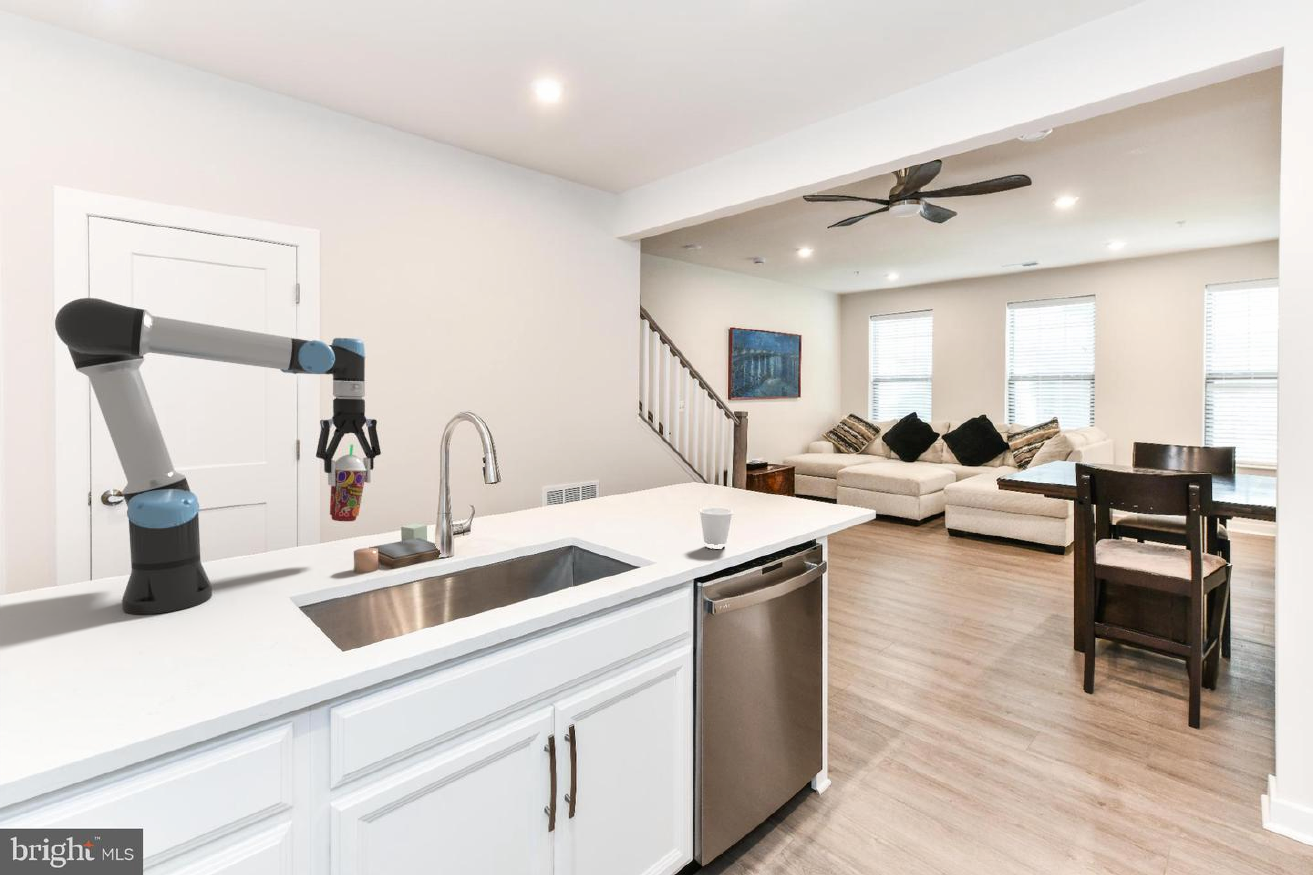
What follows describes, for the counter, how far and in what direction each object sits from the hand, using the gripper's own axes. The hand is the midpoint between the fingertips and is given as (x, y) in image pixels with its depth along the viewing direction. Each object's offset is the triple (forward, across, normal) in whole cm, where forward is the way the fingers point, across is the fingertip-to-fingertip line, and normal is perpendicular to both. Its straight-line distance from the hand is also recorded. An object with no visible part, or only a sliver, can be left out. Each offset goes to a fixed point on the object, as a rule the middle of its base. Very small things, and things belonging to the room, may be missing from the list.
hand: (349, 483), depth 167 cm
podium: (+20, +12, -8) cm, 25 cm away
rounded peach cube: (+21, -1, -12) cm, 24 cm away
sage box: (+20, +21, +5) cm, 29 cm away
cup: (+19, +79, -63) cm, 103 cm away
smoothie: (+10, -2, 0) cm, 10 cm away
